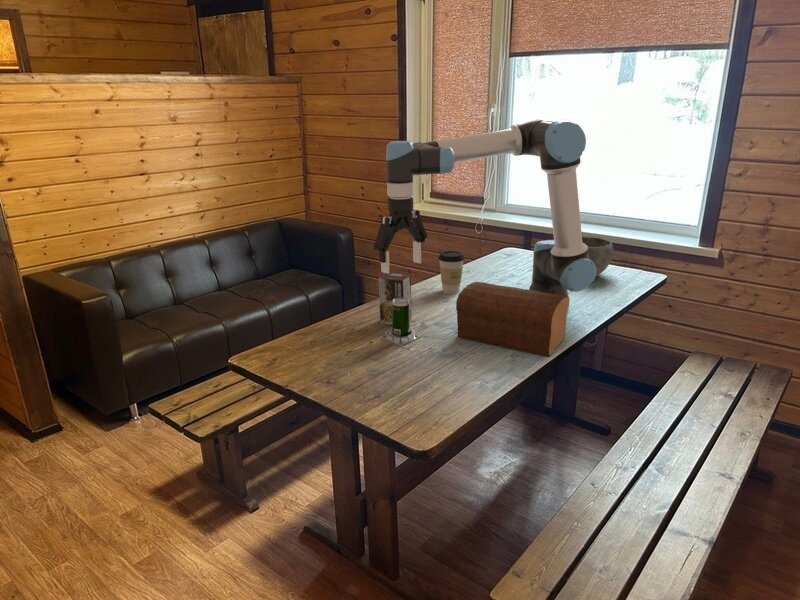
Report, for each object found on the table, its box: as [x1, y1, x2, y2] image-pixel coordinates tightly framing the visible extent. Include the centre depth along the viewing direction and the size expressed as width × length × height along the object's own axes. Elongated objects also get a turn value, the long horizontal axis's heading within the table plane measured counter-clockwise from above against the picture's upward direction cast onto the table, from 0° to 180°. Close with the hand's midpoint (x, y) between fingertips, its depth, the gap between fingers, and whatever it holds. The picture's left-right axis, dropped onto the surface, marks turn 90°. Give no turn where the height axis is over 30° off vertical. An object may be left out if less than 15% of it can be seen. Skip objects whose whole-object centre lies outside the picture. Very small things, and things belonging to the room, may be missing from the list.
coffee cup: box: [438, 250, 465, 295], centre depth 220 cm, size 10×10×15 cm
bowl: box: [582, 236, 614, 277], centre depth 235 cm, size 21×21×15 cm
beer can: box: [391, 297, 411, 337], centre depth 180 cm, size 5×5×12 cm
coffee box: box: [378, 272, 412, 326], centre depth 191 cm, size 9×6×16 cm
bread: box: [455, 281, 570, 357], centre depth 178 cm, size 18×30×16 cm, turn 59°
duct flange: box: [380, 327, 422, 347], centre depth 181 cm, size 9×9×2 cm
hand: (401, 267), depth 175 cm, fingers open, 13 cm apart
